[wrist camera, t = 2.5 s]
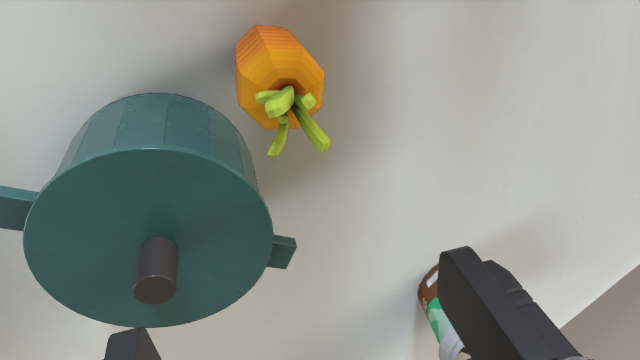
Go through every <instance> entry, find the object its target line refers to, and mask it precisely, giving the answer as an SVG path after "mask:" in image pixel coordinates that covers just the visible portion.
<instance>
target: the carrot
mask: <svg viewBox="0 0 640 360" xmlns="http://www.w3.org/2000/svg"><path fill="white" fill-rule="evenodd" d="M324 74H325V73H324V71H323V70H322V68H321V67H320V66H319V65H318V64H317V63H316V61H315V60H314V59H313V58H312V57H311V56H310V54H309V53H308V52H307V51H306V50H305V49H304V47H303V46H302V45H301V44H300V43H299V42H298V40H297V39H296V38H295V37H294V36H293V35H292V34H291V33H290V32H289V31H288V30H287V29H284V28H282V27H277V26H262V25H255V26H254V27H253V28H251V29H250V30H249V31H248V32H247V33H246V34H245V35H244V36H243V37H242V38H241V39H240V40H239V42H238V44H237V47H236V90H237V97H238V103H239V105H240V106H241V107H242V108H243V109H244V110H245V111H246V112H247V113H248V114H249V115H250V116H251V117H253V118H254V119H255V120H256V121H257V122H258V123H259V124H260V125H261V126H262V127H263V128H265V129H278V130H277V133H276V136H275V139H274V141H273V143H272V145H271V147H270V150H269V152H268V154H267V155H268V156H270V157H277V156H279V155H280V154H281V152H282V150H283V148H284V145H285V143H286V140H287V136H288V131H289V129H297V128H298V127H299V126H302V128H303V130H304V131H305V133H306V134H307V136H308V138H309V139H310V141H311V142H312V143H313V145H314V146H315V147H316V148H317V149H318V150H319V151H320V152H321V153H322V152H325V151H327V150H328V149H329V147H330V144H331V141H330V139H329V138H328V136H327V135H326V134H325V133H324V132H323V130H322V129H321V128H320V127H319V126H318V125H317V123H316V122H315V121H314V120H313V119H312V117H311V116H312V115H313V114H314V113H316V112H317V111H318V110H319V109H320V108H321V102H322V93H323V84H324Z"/></svg>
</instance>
